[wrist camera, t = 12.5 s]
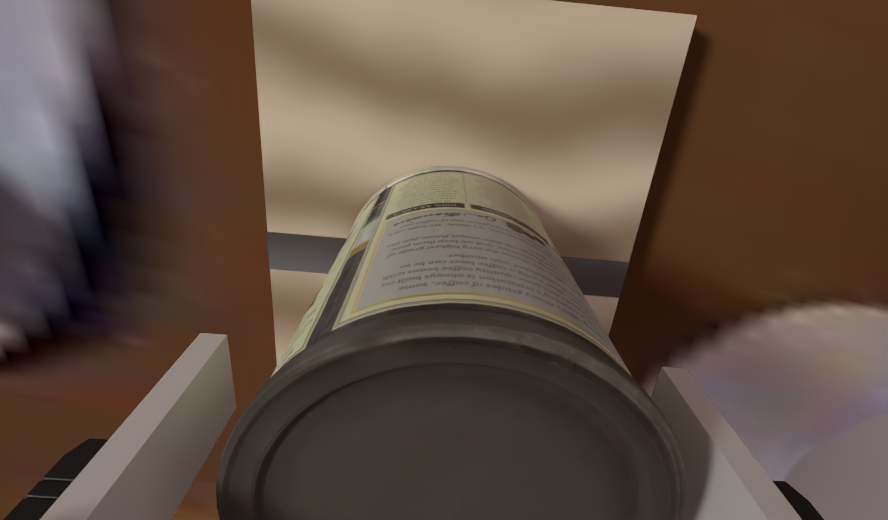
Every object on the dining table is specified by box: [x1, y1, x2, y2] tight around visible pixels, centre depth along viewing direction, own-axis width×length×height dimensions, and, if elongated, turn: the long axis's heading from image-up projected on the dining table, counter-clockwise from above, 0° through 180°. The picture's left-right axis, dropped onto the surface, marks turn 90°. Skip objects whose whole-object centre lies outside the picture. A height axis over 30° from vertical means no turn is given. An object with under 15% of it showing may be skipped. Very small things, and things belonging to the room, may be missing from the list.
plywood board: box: [251, 0, 697, 365], centre depth 23 cm, size 20×18×2 cm
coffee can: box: [216, 166, 687, 520], centre depth 16 cm, size 10×10×14 cm
